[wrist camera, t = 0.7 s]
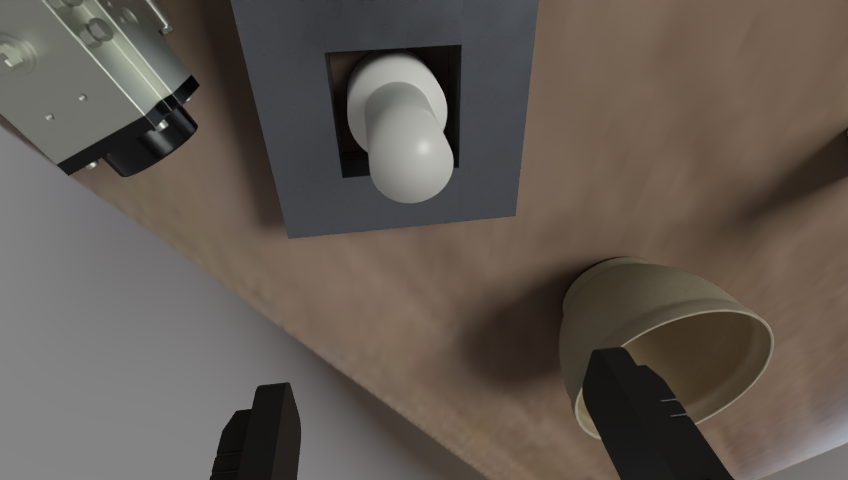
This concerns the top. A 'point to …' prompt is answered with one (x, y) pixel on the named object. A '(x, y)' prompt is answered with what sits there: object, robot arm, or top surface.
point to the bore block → (349, 171)
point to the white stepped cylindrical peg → (400, 124)
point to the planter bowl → (663, 334)
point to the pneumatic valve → (94, 82)
